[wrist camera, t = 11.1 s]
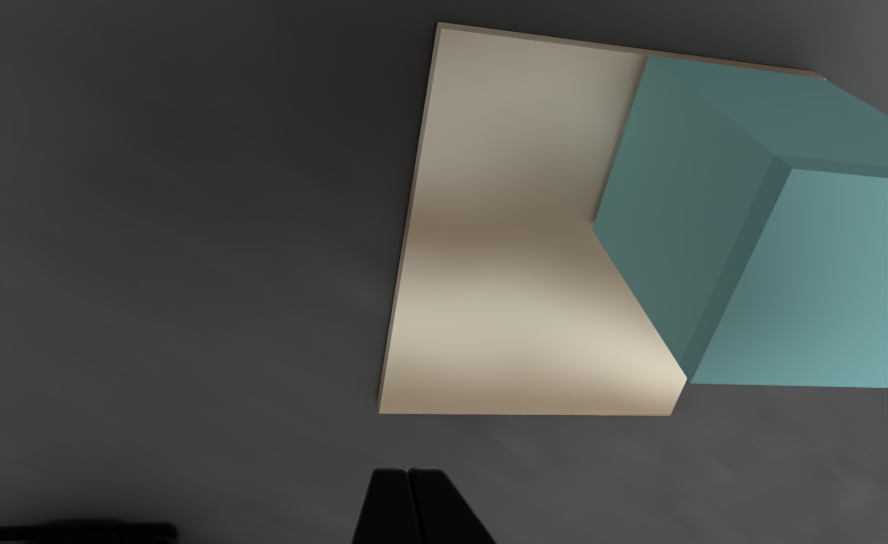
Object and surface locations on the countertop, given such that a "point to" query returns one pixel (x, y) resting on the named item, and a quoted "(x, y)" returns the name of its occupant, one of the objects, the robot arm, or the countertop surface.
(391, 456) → the countertop surface
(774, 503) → the countertop surface
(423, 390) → the board
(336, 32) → the countertop surface
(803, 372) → the teal rectangular block
